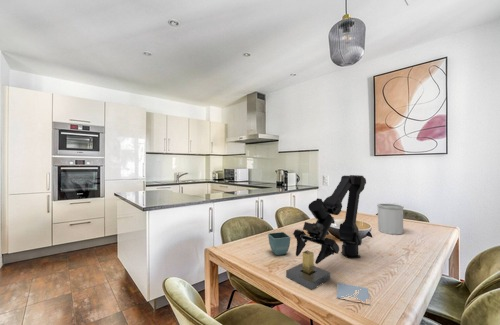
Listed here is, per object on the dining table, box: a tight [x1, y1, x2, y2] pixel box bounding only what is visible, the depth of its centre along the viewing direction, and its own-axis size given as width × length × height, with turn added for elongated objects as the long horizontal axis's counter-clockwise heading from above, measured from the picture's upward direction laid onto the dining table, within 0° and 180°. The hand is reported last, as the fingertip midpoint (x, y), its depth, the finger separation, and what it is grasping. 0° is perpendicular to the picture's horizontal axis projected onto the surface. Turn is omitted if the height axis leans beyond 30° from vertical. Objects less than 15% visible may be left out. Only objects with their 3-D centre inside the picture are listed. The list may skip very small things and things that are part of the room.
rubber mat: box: [336, 282, 371, 302], centre depth 79 cm, size 10×10×1 cm
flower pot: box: [267, 231, 291, 256], centre depth 114 cm, size 9×9×9 cm
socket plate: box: [285, 262, 331, 291], centre depth 89 cm, size 12×12×2 cm
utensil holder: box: [376, 202, 405, 235], centre depth 149 cm, size 15×15×18 cm
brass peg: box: [302, 250, 315, 275], centre depth 89 cm, size 3×3×10 cm
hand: (305, 259), depth 89 cm, fingers open, 9 cm apart
